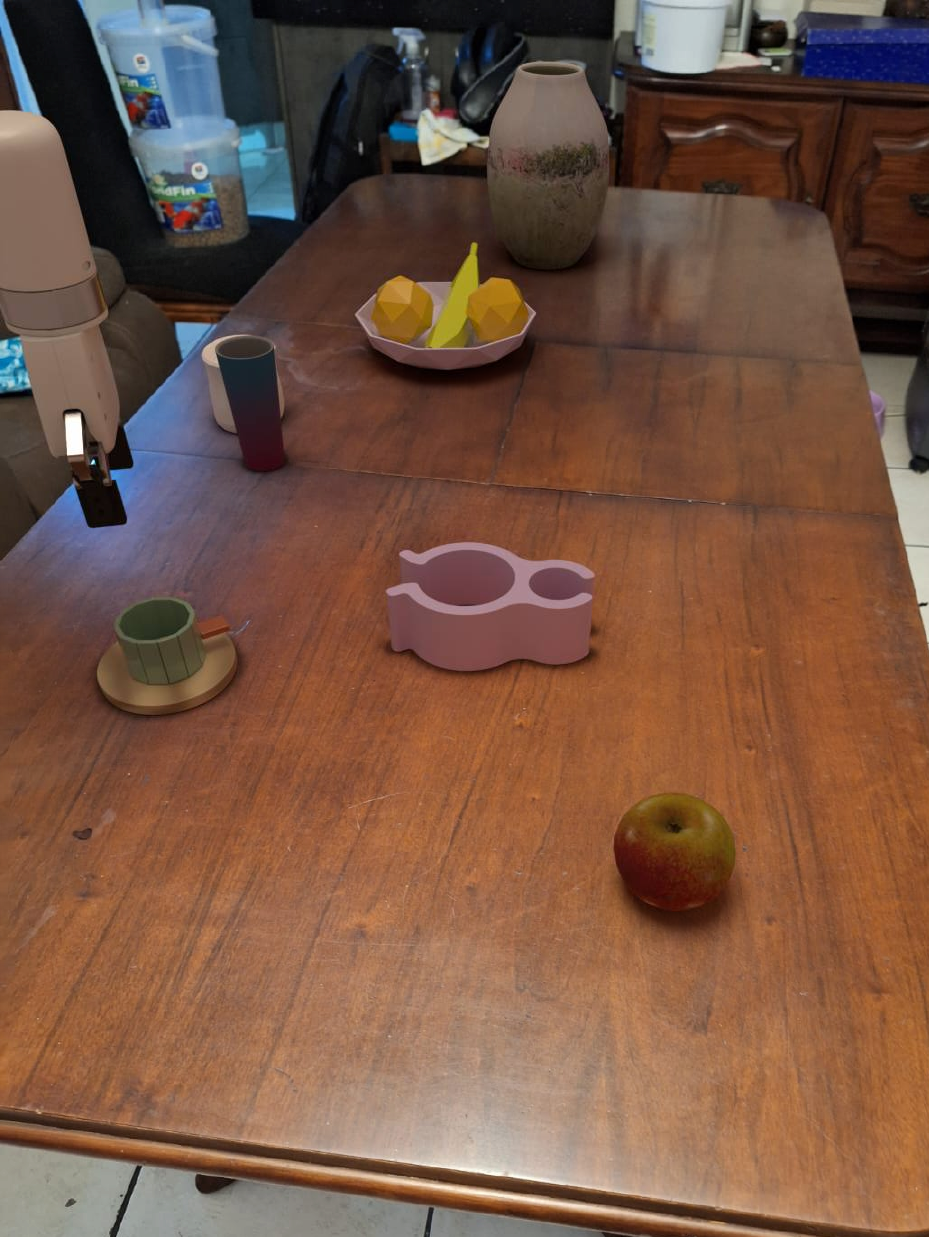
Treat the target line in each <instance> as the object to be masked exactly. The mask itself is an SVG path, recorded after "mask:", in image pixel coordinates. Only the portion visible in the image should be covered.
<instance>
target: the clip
mask: <svg viewBox="0 0 929 1237" xmlns="http://www.w3.org/2000/svg"><path fill="white" fill-rule="evenodd" d="M398 554H399V556H398V557H399V567H400V579H401V583H400V584H398V585H395V586H391V587H389V588H387V589H386V590H385V595H386V604H387V613H388V624H389V632H390V634H389V635H390V645H391V649H392V650H393V651H394V652H397V653H399V652H400V653H401V652H402V651H406V650H411V651H413V652H414V653H415V654H416V655H417V656H418V657H419V658H420V659H423V661H425V662H427V663H428V664H430V665H432V666H435V667H438V668H441V669H444V670H450V671H456V672H457V671H458V672H475V671H483V670H488V669H492V668H495V667H498V666H501V665H503V664H505V663H508V662H511V661H514V660H531V661H534V662H536V663H539V664H544V665H556V666H557V665H567V664H572V663H574V662H577V661H581V660H582V659H584V658H585V657H587V656H588V655H589V652H590V639H591V631H592V618H593V604H594V588H595V577H596V576H595V573H594V572H593V571H592V570H590V568H588V567H586V566H585V565H582V564H580V563H577V562H574V561H570V560H566V559H565V560H564V559H546V560H529V559H524V558H521V557H519V556H517V555H516V554H515V553H513V552H511V551H509V550H507V549H505V548H502V547H499V546H497V545H492V544H490V543H489V544H488V543H483V542H473V541H471V542H470V541H469V542H468V541H467V542H466V541H463V542H452V543H447V544H442V545H438V546H435V547H433V548H430V549H428V550H425V551H424V552H421V553H417V552H414V551H412V550H411V549H405V550H401V551H400V552H399V553H398Z"/></svg>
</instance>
